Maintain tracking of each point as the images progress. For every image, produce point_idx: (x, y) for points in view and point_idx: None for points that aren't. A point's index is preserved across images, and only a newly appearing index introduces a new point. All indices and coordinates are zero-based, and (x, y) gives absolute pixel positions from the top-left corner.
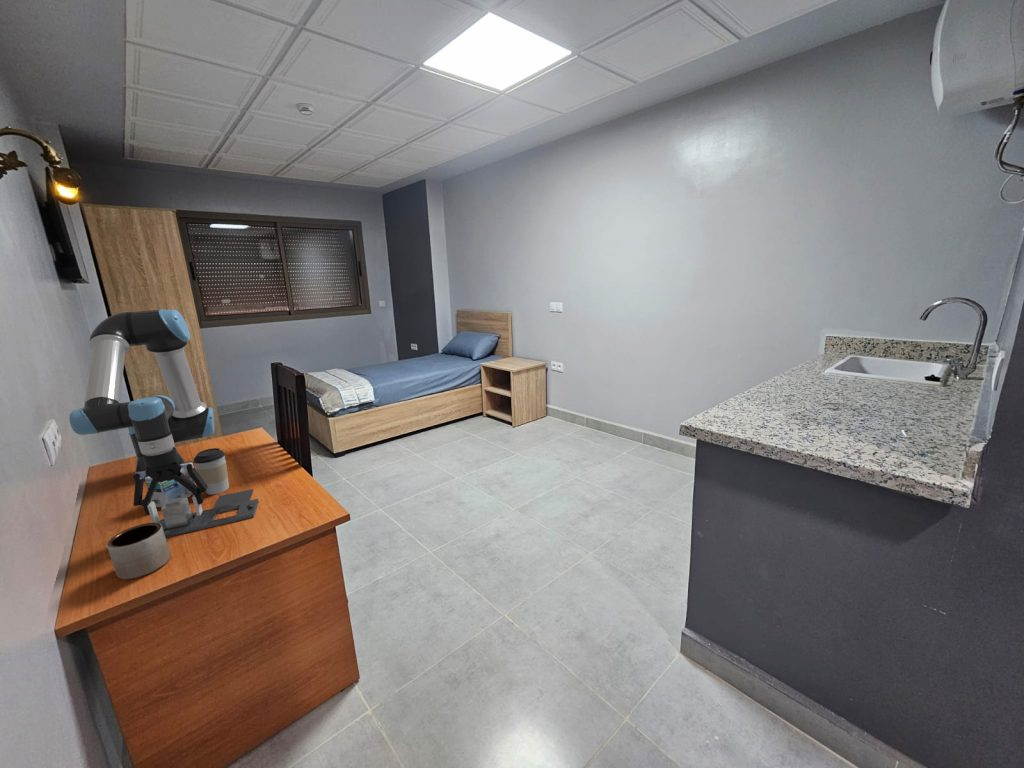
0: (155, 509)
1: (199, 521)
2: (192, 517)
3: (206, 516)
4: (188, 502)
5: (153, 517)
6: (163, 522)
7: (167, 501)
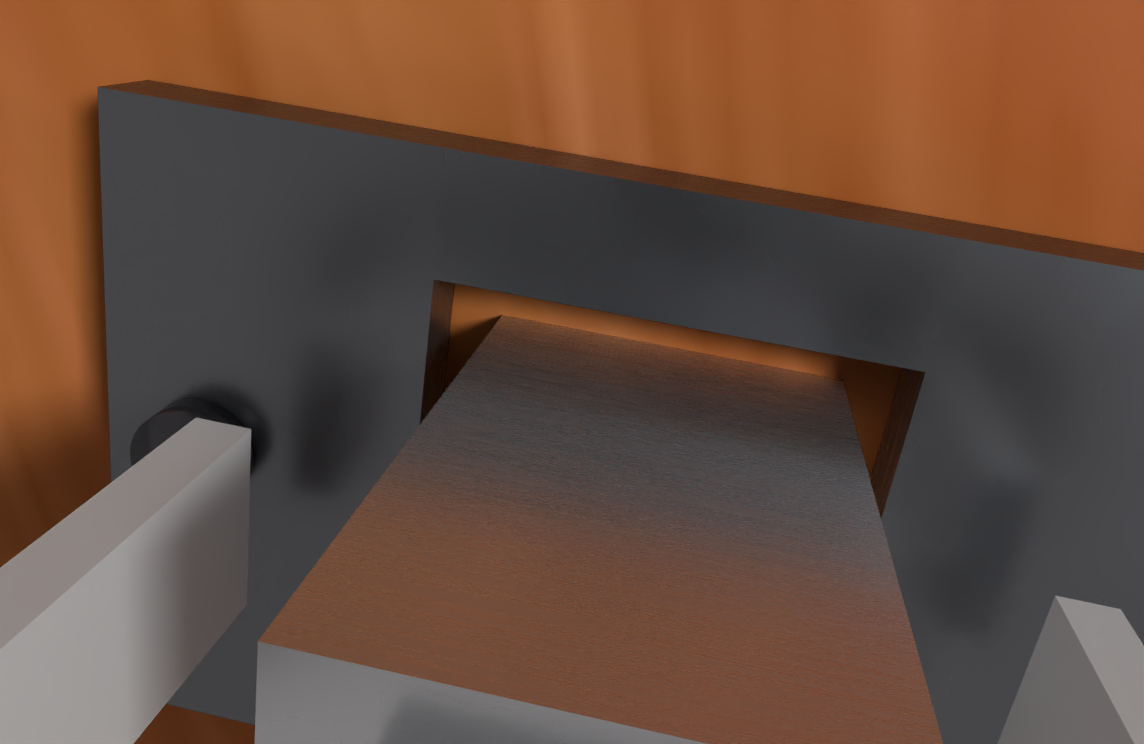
0: (46, 667)
1: (973, 736)
2: (845, 416)
3: None
4: (912, 635)
5: (125, 728)
6: (315, 294)
7: (280, 671)
